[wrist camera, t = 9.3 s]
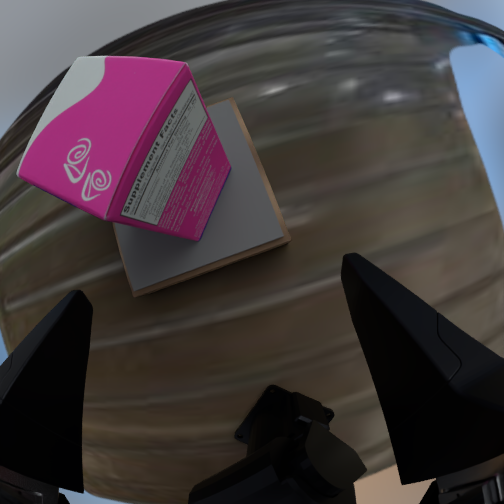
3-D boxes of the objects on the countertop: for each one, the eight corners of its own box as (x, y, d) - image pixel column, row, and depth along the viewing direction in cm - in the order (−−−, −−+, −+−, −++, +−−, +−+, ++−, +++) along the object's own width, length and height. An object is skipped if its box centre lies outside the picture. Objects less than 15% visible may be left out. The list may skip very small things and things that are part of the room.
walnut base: (288, 243, 21) (291, 239, 18) (148, 294, 21) (131, 298, 18) (236, 113, 21) (232, 94, 18) (114, 166, 22) (97, 155, 19)
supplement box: (131, 216, 18) (10, 174, 7) (164, 143, 19) (81, 48, 7) (200, 246, 18) (100, 221, 7) (235, 167, 18) (193, 51, 7)
